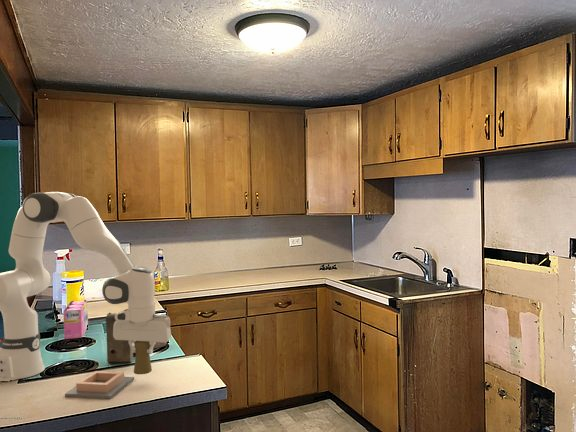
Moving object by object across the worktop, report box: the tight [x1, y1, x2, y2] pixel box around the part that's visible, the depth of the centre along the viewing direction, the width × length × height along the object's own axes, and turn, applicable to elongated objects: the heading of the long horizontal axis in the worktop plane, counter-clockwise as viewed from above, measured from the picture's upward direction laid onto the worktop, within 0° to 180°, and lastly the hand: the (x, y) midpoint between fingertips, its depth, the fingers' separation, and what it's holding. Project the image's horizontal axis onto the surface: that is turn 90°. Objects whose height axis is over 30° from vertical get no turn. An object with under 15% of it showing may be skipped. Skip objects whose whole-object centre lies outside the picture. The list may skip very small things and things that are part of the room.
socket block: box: [64, 370, 136, 400], centre depth 159 cm, size 16×16×4 cm
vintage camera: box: [105, 312, 135, 364], centre depth 190 cm, size 10×15×20 cm, turn 2°
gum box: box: [62, 299, 89, 340], centre depth 230 cm, size 24×8×14 cm, turn 16°
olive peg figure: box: [133, 341, 153, 375], centre depth 163 cm, size 6×6×11 cm
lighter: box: [150, 342, 167, 349], centre depth 203 cm, size 8×3×10 cm, turn 130°
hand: (142, 353), depth 163 cm, fingers closed on olive peg figure, 4 cm apart
